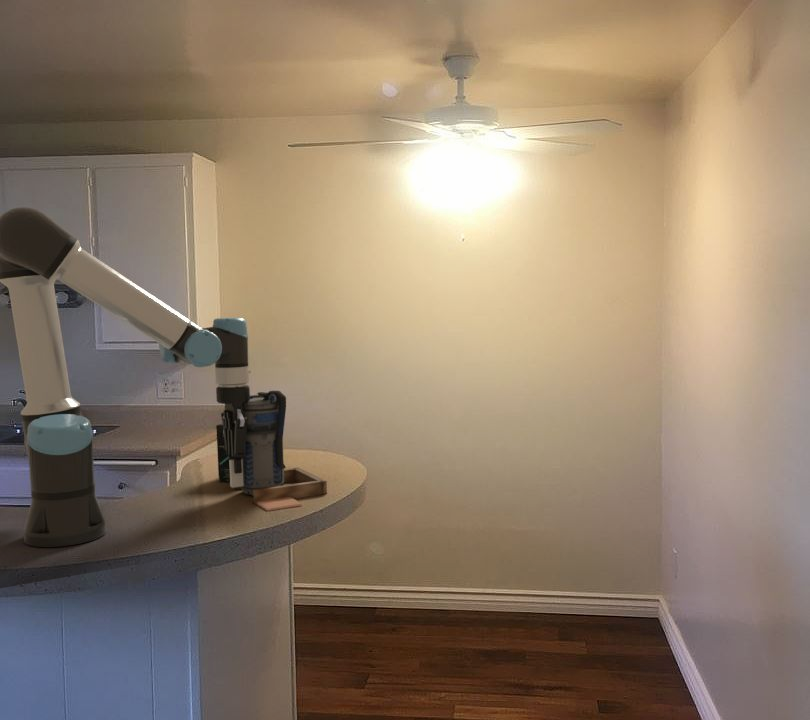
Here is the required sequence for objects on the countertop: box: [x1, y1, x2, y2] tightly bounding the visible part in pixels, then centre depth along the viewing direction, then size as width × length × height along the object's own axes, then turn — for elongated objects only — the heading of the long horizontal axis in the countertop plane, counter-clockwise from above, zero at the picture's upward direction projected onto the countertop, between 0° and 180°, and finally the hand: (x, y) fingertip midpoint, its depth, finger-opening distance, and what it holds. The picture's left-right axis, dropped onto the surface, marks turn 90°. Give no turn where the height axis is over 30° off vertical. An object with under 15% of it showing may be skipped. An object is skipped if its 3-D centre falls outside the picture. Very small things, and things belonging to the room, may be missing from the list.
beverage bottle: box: [240, 390, 287, 497], centre depth 195 cm, size 10×13×25 cm
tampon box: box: [216, 422, 230, 483], centre depth 211 cm, size 11×9×15 cm
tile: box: [256, 497, 303, 512], centre depth 184 cm, size 8×8×1 cm
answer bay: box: [231, 467, 328, 505], centre depth 197 cm, size 17×18×3 cm
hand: (236, 486), depth 192 cm, fingers closed
